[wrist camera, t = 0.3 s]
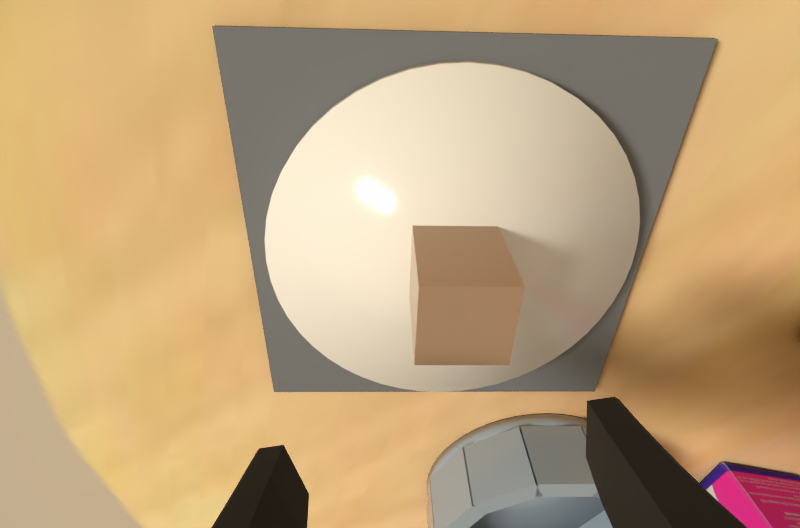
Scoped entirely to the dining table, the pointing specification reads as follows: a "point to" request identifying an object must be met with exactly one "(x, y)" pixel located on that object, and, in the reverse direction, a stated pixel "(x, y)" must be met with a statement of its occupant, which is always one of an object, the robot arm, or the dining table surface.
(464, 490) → the bowl
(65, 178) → the dining table surface
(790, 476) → the supplement box
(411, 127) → the lid
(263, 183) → the mat
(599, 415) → the robot arm
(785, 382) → the dining table surface
